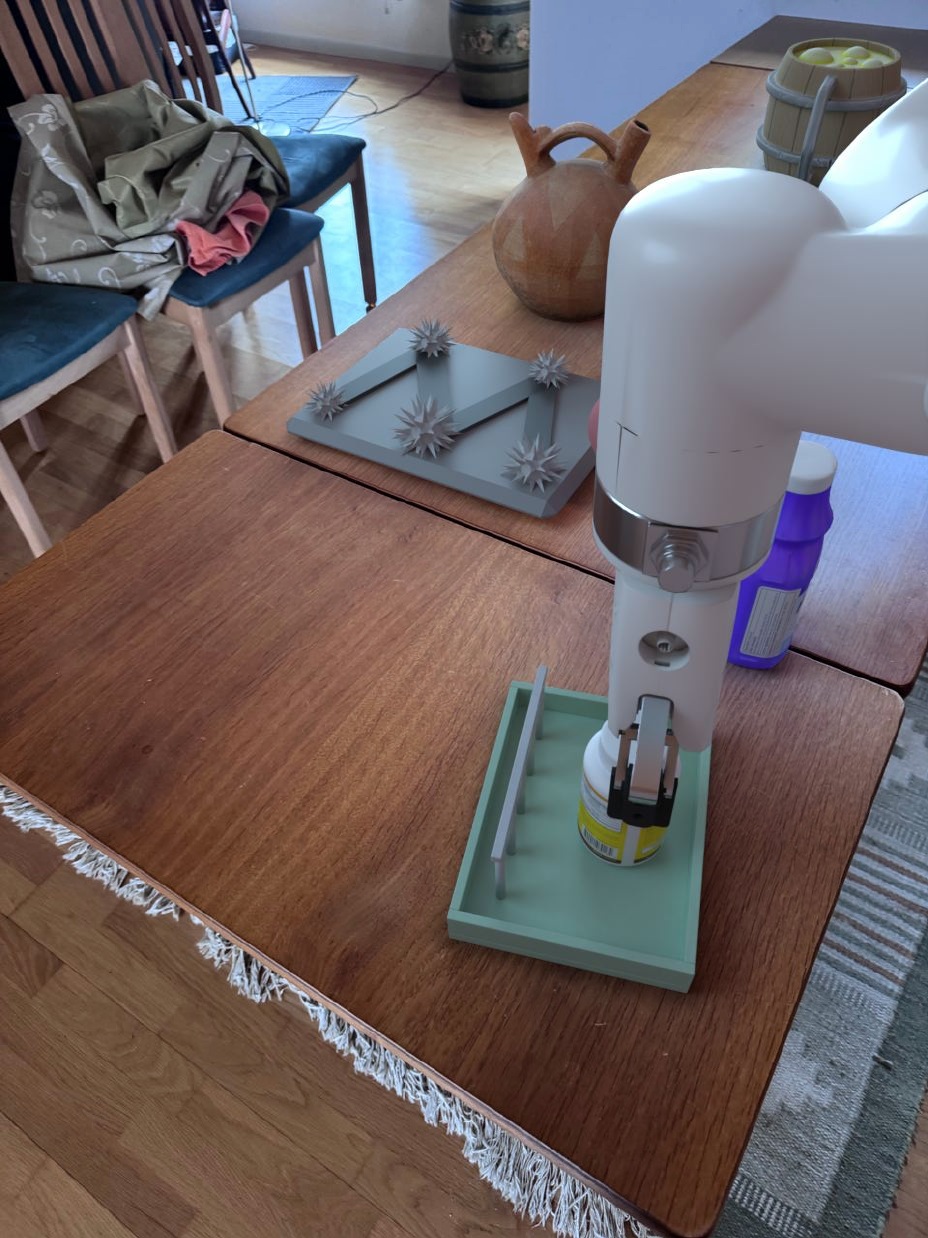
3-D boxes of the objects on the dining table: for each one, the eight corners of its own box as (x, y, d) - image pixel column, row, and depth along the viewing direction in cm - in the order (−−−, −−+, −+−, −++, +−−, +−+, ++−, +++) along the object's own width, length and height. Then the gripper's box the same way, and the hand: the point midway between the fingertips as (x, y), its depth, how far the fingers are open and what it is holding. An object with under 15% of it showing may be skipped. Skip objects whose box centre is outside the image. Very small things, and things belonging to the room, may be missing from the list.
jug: (473, 327, 101) (468, 141, 87) (514, 258, 113) (515, 83, 98) (632, 346, 97) (654, 154, 83) (657, 273, 109) (680, 93, 94)
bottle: (782, 684, 64) (850, 500, 52) (704, 667, 66) (752, 483, 53) (791, 615, 69) (855, 430, 56) (717, 600, 70) (764, 417, 58)
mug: (726, 197, 124) (747, 76, 113) (765, 138, 138) (788, 26, 127) (865, 217, 118) (902, 92, 107) (891, 153, 132) (925, 37, 121)
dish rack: (707, 738, 61) (726, 671, 56) (687, 994, 50) (709, 940, 44) (511, 704, 64) (512, 636, 59) (448, 938, 52) (442, 881, 47)
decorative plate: (645, 409, 89) (654, 345, 84) (550, 533, 77) (553, 468, 71) (399, 340, 100) (393, 280, 95) (281, 439, 88) (267, 377, 83)
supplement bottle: (661, 795, 58) (684, 700, 50) (666, 873, 54) (692, 783, 46) (576, 790, 58) (586, 694, 51) (575, 867, 54) (586, 777, 47)
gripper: (777, 675, 30) (707, 900, 42) (781, 395, 41) (725, 638, 54) (559, 644, 31) (553, 870, 44) (620, 382, 43) (602, 621, 55)
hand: (647, 742), depth 49 cm, fingers open, 9 cm apart
